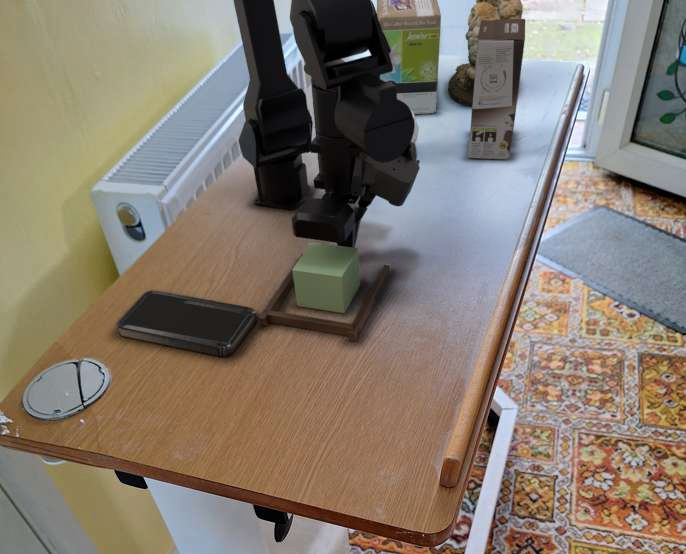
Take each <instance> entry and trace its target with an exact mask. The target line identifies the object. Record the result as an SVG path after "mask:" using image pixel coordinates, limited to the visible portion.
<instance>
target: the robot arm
mask: <svg viewBox="0 0 686 554" xmlns="http://www.w3.org/2000/svg"><path fill="white" fill-rule="evenodd" d="M232 1H233V5H234V10H235V14H236V15H235V16H236V19H237V24H238V28H239V34H240V39H241V43H242V47H243V53H244V57H245V62H246V66H247V71H248V76H249V80H248V81H249V82H248V86H247V87H246V93H245V95H244V99H243V102H242V108H243V113H244V119H245V121H244V123H243V126H242V129H241V132H240V135H239V138H238V145H239V148H240V152H241V155H242V157H243V159H245V160H246V161H247V162H248V163H249V164H250V165H251V166H252V168H253V174H254V178H255V179H254V180H255V185H256V191H257V196H256V197H255V198H254V199H253V205H254V206H261V207H270V208H278V209H279V208H280V209H286V210H295V209H296V208H298V206H299V204H300V203H301V202H302V200H303V199H304V198H305V197H306V195H307V194H308V193H309V192H310V190H311V186H310V184H309V181H308V172H307V171H308V170H307V165H306V162H303V155H302V154H308V153H311V154H317V164H318V173H317V174H316V176H315V177H314V178H313V188H314V189H317V190H323V191H324V194H323V195H322V197H311V196H309V197H308V198H307V199H306V200H305V201H303V203H302V204H301V205H300V207H299V208H298V209H297V211H296V212H295V213H294V214H293V216H292V217H291V219H290V220H291V226H292V234H293V235H294V236H295V238H299V239H300V238H301V239H307V240H312V241H313V240H314V241H321V242H329V243H334V244H337V246H344V247H352V248H356V244H357V239H358V235H359V231H360V226H361V222H362V219H363V217H364V216H365V214H366V213H367V210H368V207H370V205H372V202H373V201H374V200H375V198H376V197H379V198H381V199H382V200H385V201H387V202H388V203H389V205H391V206H394V207H402V206H403V205H404V204H405V203H406V200H407V198H408V196H409V195H410V194H411V192H412V190H413V187H414V184H415V181H416V178H417V176H418V173H419V171H420V170H421V169H420V161H421V160H419V159H418V158H417V157H418V155H417V146H416V142H415V143H413V142H411V140H412V137H413V134H414V127H415V120H414V118H413V115H412V112H411V110H410V108H409V107H408V106H407V105H406V104H405V103H404V102H402V101H401V100H399V99H397V88H396V86H395V85H394V84H392V83H390V82H385V81H383V80H381V79H380V75H382V74H386V73H389V72H392V71H393V65H392V62H391V59H390V56H389V54H390V52H391V49H390V46H389V44H388V42H387V39H386V37H385V34H384V32H383V29H382V27H381V25H380V22H379V20H378V16H377V9H376V7H375V5H374V3H373V1H372V0H290V1H291V2H290V11H289V21H290V24H291V27H292V32H293V38H294V41H295V44H296V47H297V49H298V52H299V53H300V55H301V57H302V59H303V60H304V63H305V64H304V65H303V71H304V73H305V74H306V75H308V76H310V78H311V79H310V85H311V95H312V96H311V97H312V107H313V117H312V115H311V113H310V110H309V108H308V101H307V94H306V92H305V91H304V90H303V88H301V87H300V88H299V87H298V85H297V84H296V83H295V82H294V81H293V80H292V77H290V75H289V74H288V70H287V65H286V59H285V54H284V50H283V49H284V48H283V44H282V38H281V33H280V27H279V21H278V17H277V16H278V15H277V10H276V4H275V1H274V0H232ZM368 51H369V54H370V55H366V56H363V57H359V58H355V59H353V60H352V59H351V60H347V61H345V60H343V59H346V58H350V57H354V56H357V55H363V54H364V53H366V52H368ZM313 118H314V120H313ZM313 121H314V122H313ZM313 125H314V127H313ZM313 128H314V129H315V130H314V131H315V137H313Z"/></svg>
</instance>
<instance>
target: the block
mask: <svg viewBox="0 0 686 554" xmlns="http://www.w3.org/2000/svg"><path fill="white" fill-rule="evenodd" d="M359 252H360V249H359V248H358V247H355V248H352V247H344V246H338V245H336V244H328V243H319V242H313V241H311V242H309V244H308V246H307V247H306V248H305V250H304V252H303V253H302V254H303V255H302V254H301V255H302V256H301V255H300V256H301V258H300V257H299V258H300V259H299V258H298V259H299V261H298V260H297V261H298V262H297V261H296V262H297V264H296V263H295V264H296V265H295V264H294V265H295V266H294V265H293V267H294V268H293V267H292V268H293V269H292V268H291V270H292V271H293V278H294V285H293V287H294V293H295V300H296V305H297V307H301V308H308V309H312V310H313V309H314V310H321V311H327V312H333V313H339V314H345V313H346V312H347V310H348V308H349V307H350V304H351V303H352V301H353V299H354V297H355V296H356V294H357V292H358V290H359V288H360V286H361V268H360V253H359Z"/></svg>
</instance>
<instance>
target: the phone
mask: <svg viewBox="0 0 686 554" xmlns="http://www.w3.org/2000/svg"><path fill="white" fill-rule="evenodd" d="M257 319H258V318H257V314H256V311H255V309H254V308H253V307H250V306H245V305H240V304H233V303H229V302H223V301H217V300H211V299H206V298H201V297H195V296H189V295H183V294H179V293H173V292H169V291H163V290H157V289H151V290H147V291H145V292H144V293H143V294H141V296H140V297H139V298H138V299H136V301H135V302H134V303H133V304H132V305H131V306H130V307H129V308H128V310H126V311H125V313H124V314H123V315H122V316H121V317H120V318H119V319H118V320H117V322H116V327H117V330H118V332H119V334H120V336H123V337H127V338H131V339H136V340H141V341H146V342H150V343H155V344H160V345H164V346H171V347H174V348H179V349H184V350H189V351H193V352H199V353H203V354H209V355H213V356H218V357H228V356H231V355H232V354H234V353H235V351H237V349H238V348H239V346H240V345H241V343H242V342H243V341H244V339H246V337H247V335H248V334H249V333H250V331H251V330H252V328H253V327H254V326H255V325H256V323H257Z"/></svg>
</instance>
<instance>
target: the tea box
mask: <svg viewBox="0 0 686 554" xmlns="http://www.w3.org/2000/svg"><path fill="white" fill-rule="evenodd" d="M376 13H377V16H378V20H379V22H380V25H381V27H382V29H383V32H384V34H385V37H386V39H387V42H388V44H389V46H390V49H391V52H390V54H389V56H390V59H391V62H392V65H393V71H392V72H389V73H386V74H382V75H380V79H381V80H383V81H385V82H390V83H392V84H394V85H395V86H396V88H397V99H399V100H401V101H402V102H404V103H405V104H406V105H407V106H408V107H409V108H410V109H411V110H412V111H413V112H414V115H420V114H421V115H422V114H433V113H436V111H437V101H438V99H437V98H438V84H439V83H438V79H439V65H440V64H439V62H440V46H441V45H440V44H441V26H442V25H441V24H442V13H441V10H440V6H439V2H438V0H376Z"/></svg>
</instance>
